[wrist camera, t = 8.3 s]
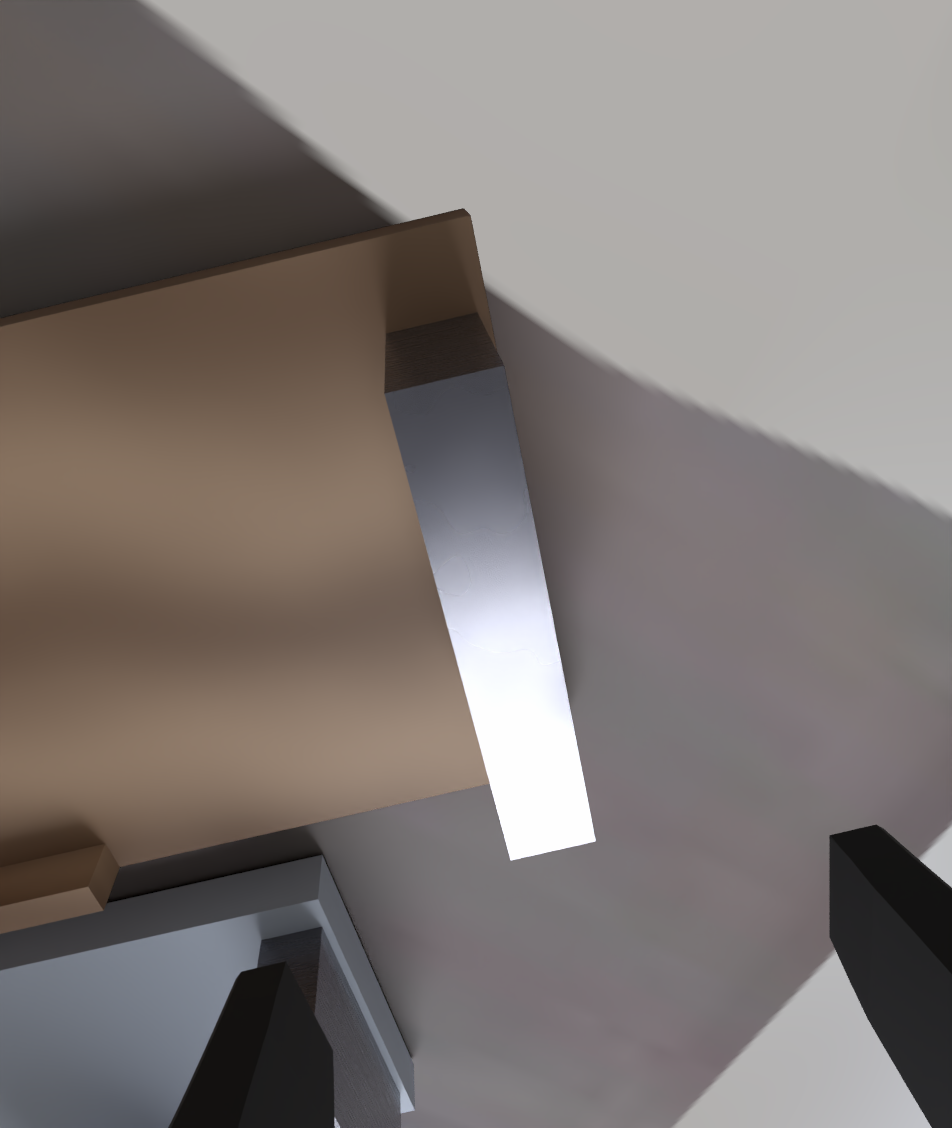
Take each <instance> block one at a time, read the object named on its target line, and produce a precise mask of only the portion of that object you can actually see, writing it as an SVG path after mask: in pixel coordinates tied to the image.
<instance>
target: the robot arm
mask: <svg viewBox="0 0 952 1128" xmlns="http://www.w3.org/2000/svg"><path fill="white" fill-rule="evenodd" d="M830 939H831V941H832V943H833V945H834V947H835V950H836V952H837V954H838V956H839V958H840V960H841V963H842V965H843V967H844V969H845V971H846V973H847V976H848V978H849V980H850V983H851V985H852V987H853V989H854V991H855V993H856V995H857V997H858V999H859V1001H860V1003H861V1006H862V1008H863V1010H864V1012H865V1014H866V1016H867V1018H868V1020H869V1022H870V1023H871V1025H872V1027H873V1029H874V1030H875V1032H876V1034H877V1036H878V1037H879V1039H880V1041H881V1042H882V1044H883V1046H884V1048H885V1049H886V1051H887V1053H888V1054H889V1056H890V1058H891V1060H892V1061H893V1063H894V1064H895V1066H896V1068H897V1070H898V1071H899V1073H900V1075H901V1076H902V1078H903V1080H904V1082H905V1083H906V1085H907V1087H908V1088H909V1090H910V1092H911V1093H912V1095H913V1097H914V1098H915V1100H916V1102H917V1103H918V1105H919V1107H920V1109H921V1110H922V1112H923V1113H924V1115H925V1117H926V1119H927V1120H928V1122H929V1124H930V1125H931V1127H932V1128H952V888H951V887H950V886H949V885H948V884H947V883H945V882H944V881H943V880H942V879H941V878H940V877H938V876H937V875H936V874H935V873H934V872H932V871H931V870H930V869H929V868H928V867H927V866H926V865H924V864H923V863H922V862H921V861H920V860H919V859H918V858H916V857H915V856H914V855H913V854H912V853H911V852H909V851H908V850H907V849H906V848H905V847H904V846H903V845H901V844H900V843H899V842H898V841H897V840H896V839H895V838H894V837H892V836H891V835H890V834H889V833H888V832H887V831H886V830H884V829H883V828H881V827H879V826H878V825H872V826H868V827H864V828H859V829H855V830H851V831H847V832H842V833H838V834H834V835H830ZM168 1128H335V1119H334V1066H333V1050H332V1048H331V1046H330V1044H329V1042H328V1040H327V1038H326V1036H325V1034H324V1032H323V1030H322V1029H321V1027H320V1025H319V1023H318V1021H317V1019H316V1017H315V1015H314V1013H313V1011H312V1009H311V1008H310V1006H309V1004H308V1002H307V1000H306V998H305V996H304V994H303V992H302V990H301V988H300V987H299V985H298V983H297V981H296V979H295V977H294V975H293V973H292V971H291V969H290V968H289V966H288V964H287V962H286V961H285V962H280V963H276V964H272V965H268V966H263V967H259V968H255V969H250V970H246V971H242V972H240V974H239V975H238V976H237V978H236V979H235V982H234V984H233V986H232V989H231V991H230V993H229V995H228V998H227V1000H226V1002H225V1005H224V1007H223V1009H222V1012H221V1014H220V1016H219V1018H218V1021H217V1023H216V1025H215V1027H214V1030H213V1032H212V1034H211V1037H210V1039H209V1041H208V1043H207V1046H206V1048H205V1050H204V1052H203V1054H202V1057H201V1059H200V1061H199V1063H198V1065H197V1068H196V1070H195V1072H194V1074H193V1076H192V1079H191V1081H190V1083H189V1085H188V1087H187V1089H186V1092H185V1094H184V1096H183V1098H182V1100H181V1102H180V1104H179V1107H178V1109H177V1111H176V1113H175V1115H174V1117H173V1119H172V1121H171V1123H170V1125H169V1127H168Z"/></svg>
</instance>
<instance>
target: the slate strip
mask: <svg viewBox="0 0 952 1128" xmlns="http://www.w3.org/2000/svg"><path fill="white" fill-rule="evenodd" d="M285 961H286V962H287V964H288V966H289V968H290V969H291V971H292V973H293V975H294V977H295V979H296V981H297V983H298V985H299V987H300V988H301V990H302V992H303V994H304V996H305V998H306V1000H307V1002H308V1004H309V1006H310V1008H311V1009H312V1011H313V1013H314V1015H315V1017H316V1019H317V1021H318V1023H319V1025H320V1027H321V1029H322V1030H323V1032H324V1034H325V1036H326V1038H327V1040H328V1042H329V1044H330V1046H331V1048H332V1050H333V1066H334V1119H335V1128H401V1113H405V1112H409V1111H414V1110H415V1100H414V1064H413V1062H412V1059H411V1057H410V1055H409V1052H408V1050H407V1048H406V1046H405V1043H404V1041H403V1039H402V1036H401V1034H400V1032H399V1030H398V1027H397V1025H396V1023H395V1020H394V1018H393V1016H392V1013H391V1011H390V1009H389V1007H388V1004H387V1002H386V1000H385V997H384V995H383V993H382V991H381V988H380V986H379V984H378V981H377V979H376V977H375V975H374V972H373V970H372V968H371V965H370V963H369V961H368V959H367V956H366V954H365V952H364V949H363V947H362V945H361V942H360V940H359V938H358V936H357V933H356V931H355V929H354V926H353V924H352V922H351V920H350V917H349V915H348V913H347V910H346V908H345V906H344V904H343V901H342V899H341V897H340V894H339V892H338V890H337V887H336V885H335V883H334V881H333V878H332V876H331V874H330V871H329V869H328V867H327V865H326V862H325V860H324V858H323V855H319V856H315V857H310V858H306V859H301V860H297V861H293V862H288V863H284V864H279V865H275V866H270V867H266V868H261V869H257V870H253V871H248V872H244V873H239V874H235V875H230V876H226V877H221V878H217V879H213V880H208V881H204V882H199V883H195V884H190V885H186V886H182V887H177V888H173V889H168V890H164V891H159V892H155V893H150V894H146V895H142V896H137V897H133V898H128V899H124V900H119V901H115V902H111V903H106V906H105V909H104V911H100V912H95V913H91V914H87V915H82V916H78V917H73V918H69V919H64V920H60V921H56V922H51V923H47V924H42V925H38V926H33V927H29V928H24V929H20V930H16V931H11V932H7V933H2V934H0V1128H168V1127H169V1125H170V1123H171V1121H172V1119H173V1117H174V1115H175V1113H176V1111H177V1109H178V1107H179V1104H180V1102H181V1100H182V1098H183V1096H184V1094H185V1092H186V1089H187V1087H188V1085H189V1083H190V1081H191V1079H192V1076H193V1074H194V1072H195V1070H196V1068H197V1065H198V1063H199V1061H200V1059H201V1057H202V1054H203V1052H204V1050H205V1048H206V1046H207V1043H208V1041H209V1039H210V1037H211V1034H212V1032H213V1030H214V1027H215V1025H216V1023H217V1021H218V1018H219V1016H220V1014H221V1012H222V1009H223V1007H224V1005H225V1002H226V1000H227V998H228V995H229V993H230V991H231V989H232V986H233V984H234V982H235V979H236V978H237V976H238V975H239V974H240V972H242V971H246V970H250V969H255V968H259V967H263V966H268V965H272V964H276V963H280V962H285Z"/></svg>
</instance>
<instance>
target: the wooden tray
mask: <svg viewBox="0 0 952 1128" xmlns="http://www.w3.org/2000/svg"><path fill="white" fill-rule="evenodd" d="M485 784H490V785H491V789H492V793H493V796H494V800H495V804H496V808H497V811H498V815H499V819H500V822H501V826H502V830H503V833H504V837H505V841H506V844H507V848H508V852H509V855H510V859H511V860H514V859H519V858H523V857H528V856H532V855H536V854H541V853H545V852H550V851H554V850H559V849H563V848H568V847H572V846H577V845H581V844H585V843H590V842H594V841H595V836H594V831H593V825H592V820H591V815H590V810H589V805H588V799H587V794H586V789H585V784H584V779H583V773H582V768H581V763H580V758H579V753H578V747H577V742H576V737H575V732H574V727H573V721H572V716H571V711H570V706H569V701H568V695H567V690H566V685H565V680H564V675H563V669H562V664H561V659H560V654H559V649H558V643H557V638H556V633H555V628H554V623H553V617H552V612H551V607H550V602H549V597H548V591H547V586H546V581H545V576H544V571H543V565H542V560H541V555H540V550H539V545H538V539H537V534H536V529H535V524H534V519H533V513H532V508H531V503H530V498H529V493H528V487H527V482H526V477H525V472H524V467H523V462H522V456H521V451H520V446H519V441H518V436H517V430H516V425H515V420H514V415H513V410H512V404H511V399H510V394H509V389H508V384H507V378H506V373H505V368H504V364H503V362H502V360H501V358H500V356H499V354H498V352H497V348H496V343H495V338H494V333H493V328H492V323H491V318H490V312H489V307H488V302H487V297H486V292H485V287H484V282H483V277H482V271H481V266H480V261H479V256H478V251H477V246H476V241H475V236H474V230H473V225H472V220H471V216H470V214H469V213H468V212H467V211H466V210H465V209H459V210H454V211H450V212H446V213H442V214H438V215H433V216H430V217H425V218H421V219H417V220H412V221H408V222H404V223H400V224H395V225H391V226H387V227H383V228H379V229H374V230H370V231H366V232H362V233H358V234H353V235H349V236H345V237H341V238H336V239H332V240H328V241H324V242H320V243H315V244H311V245H307V246H303V247H299V248H294V249H290V250H286V251H282V252H277V253H273V254H269V255H265V256H261V257H256V258H252V259H248V260H244V261H240V262H235V263H231V264H227V265H223V266H218V267H214V268H210V269H206V270H202V271H197V272H193V273H189V274H185V275H181V276H176V277H172V278H168V279H164V280H159V281H155V282H151V283H147V284H143V285H138V286H134V287H130V288H126V289H122V290H117V291H113V292H109V293H105V294H100V295H96V296H92V297H88V298H84V299H79V300H75V301H71V302H67V303H63V304H58V305H54V306H50V307H46V308H41V309H37V310H33V311H29V312H25V313H20V314H16V315H12V316H8V317H4V318H0V934H2V933H7V932H11V931H16V930H20V929H24V928H29V927H33V926H38V925H42V924H47V923H51V922H56V921H60V920H64V919H69V918H73V917H78V916H82V915H87V914H91V913H95V912H100V911H104V909H105V906H106V903H107V901H108V898H109V895H110V892H111V890H112V887H113V884H114V882H115V879H116V876H117V874H118V871H119V868H120V867H123V866H127V865H131V864H136V863H140V862H145V861H149V860H153V859H158V858H162V857H167V856H171V855H176V854H180V853H184V852H189V851H193V850H198V849H202V848H207V847H211V846H215V845H220V844H224V843H229V842H233V841H238V840H242V839H246V838H251V837H255V836H260V835H264V834H269V833H273V832H277V831H282V830H286V829H291V828H295V827H300V826H304V825H308V824H313V823H317V822H322V821H326V820H331V819H335V818H339V817H344V816H348V815H353V814H357V813H362V812H366V811H370V810H375V809H379V808H384V807H388V806H392V805H397V804H401V803H406V802H410V801H415V800H419V799H423V798H428V797H432V796H437V795H441V794H446V793H450V792H454V791H459V790H463V789H468V788H472V787H477V786H481V785H485Z"/></svg>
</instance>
